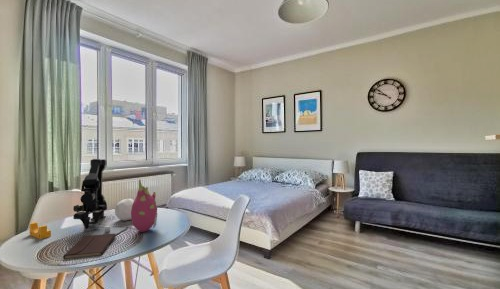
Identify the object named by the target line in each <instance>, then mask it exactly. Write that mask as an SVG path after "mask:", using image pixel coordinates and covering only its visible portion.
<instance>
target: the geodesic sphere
mask: <svg viewBox="0 0 500 289" xmlns="http://www.w3.org/2000/svg"><path fill="white" fill-rule="evenodd" d="M134 200H135V199H133V198H125V199H121V200H120V201H119V202H117V204H116V205H115V207H114V215H115V216H116V218H117V219H118V220H121V221H123V222H125V221H130V220H132V219H131V209H132V205H133V202H134Z"/></svg>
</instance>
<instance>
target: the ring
mask: <svg viewBox="0 0 500 289" xmlns="http://www.w3.org/2000/svg"><path fill="white" fill-rule="evenodd" d="M97 229H99V221H94V220H92V221H90V222H89V226H88V229H85V227H84V226H83V230H84V231H93V230H97Z"/></svg>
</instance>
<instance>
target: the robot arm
mask: <svg viewBox="0 0 500 289" xmlns="http://www.w3.org/2000/svg"><path fill="white" fill-rule="evenodd" d="M89 165H90V168H89V171H88V174H87V175H86V176H85V177H84V180H82V184H81V188H80V190H81V191H80V192H81V193H82V192H84V193H83V194H82V195H81V197H80V198H79V199H80V202H81V203H82V204H81V205H79V204H76V205H73V212H76V213H74V214H73V220H80V222H82V224H83V228H84V227H85V229H88V226H89V222H91V221H90V220H92V221H98V222H99V221H100V220H103V219H105V218H106V217H107V215H105V211H107V210H108V202H107V201H106V199H105V196H104V195H103V172H104V171H105V169H106V167H107V159H105V158H93V159H90V163H89ZM91 214H92V215H91ZM90 215H91V216H92V217H91V216H90Z"/></svg>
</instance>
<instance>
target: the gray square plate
mask: <svg viewBox="0 0 500 289" xmlns="http://www.w3.org/2000/svg"><path fill="white" fill-rule="evenodd" d="M127 229H128V228H127V227H119V226H118V227H117V226H116V227H115V226H113V227H112V226H110V225H105V226H104V227H101V228H100V229H99V228H98V230H97V229H96V231H94V232H92V233H90V234H89V235H103V234H116V236H118V235H119V234H121V233H122V232H125V231H126V230H127Z"/></svg>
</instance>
